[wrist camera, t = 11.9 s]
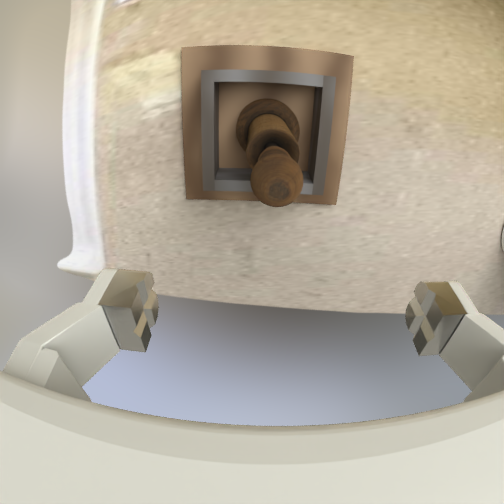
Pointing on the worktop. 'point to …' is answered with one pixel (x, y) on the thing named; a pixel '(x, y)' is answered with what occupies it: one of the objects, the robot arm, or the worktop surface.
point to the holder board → (253, 88)
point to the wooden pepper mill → (271, 150)
